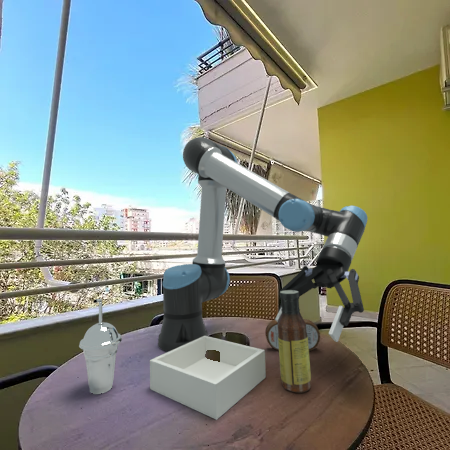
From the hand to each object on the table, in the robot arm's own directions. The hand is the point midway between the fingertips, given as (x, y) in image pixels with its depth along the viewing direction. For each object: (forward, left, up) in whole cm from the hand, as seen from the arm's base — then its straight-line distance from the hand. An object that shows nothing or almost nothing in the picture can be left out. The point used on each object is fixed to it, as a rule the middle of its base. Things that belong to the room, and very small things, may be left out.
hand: (303, 330), depth 60 cm
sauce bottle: (-2, -2, -12) cm, 12 cm away
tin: (-10, +16, -12) cm, 22 cm away
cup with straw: (-36, -26, -12) cm, 46 cm away
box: (-18, -11, -11) cm, 24 cm away
